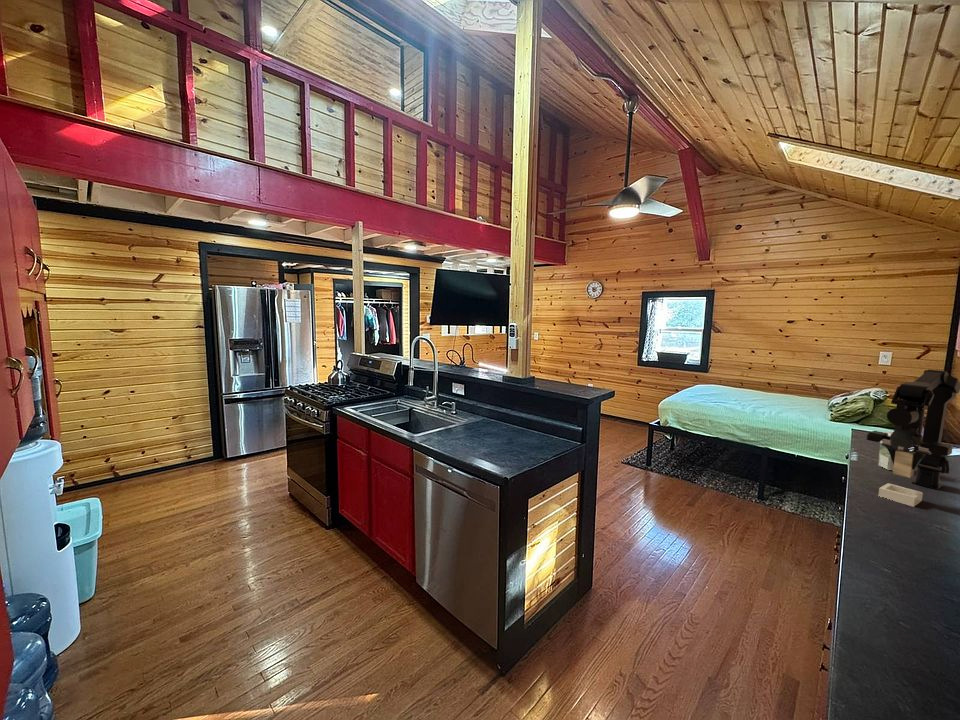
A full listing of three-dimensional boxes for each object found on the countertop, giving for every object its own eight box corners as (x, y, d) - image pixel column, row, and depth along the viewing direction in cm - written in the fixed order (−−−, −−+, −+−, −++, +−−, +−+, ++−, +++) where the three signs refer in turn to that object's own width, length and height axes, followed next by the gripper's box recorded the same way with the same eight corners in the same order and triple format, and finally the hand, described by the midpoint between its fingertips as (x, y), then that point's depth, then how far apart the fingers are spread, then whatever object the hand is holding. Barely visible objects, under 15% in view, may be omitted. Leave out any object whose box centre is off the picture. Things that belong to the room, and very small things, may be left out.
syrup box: (905, 472, 157) (910, 436, 155) (887, 470, 158) (892, 435, 156) (893, 466, 162) (898, 432, 161) (876, 465, 163) (881, 431, 162)
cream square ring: (886, 491, 139) (888, 483, 139) (921, 501, 132) (922, 492, 131) (878, 496, 135) (879, 488, 135) (913, 506, 128) (914, 497, 127)
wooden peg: (896, 471, 135) (900, 445, 134) (913, 475, 132) (917, 449, 131) (892, 473, 133) (896, 447, 132) (909, 477, 130) (913, 451, 129)
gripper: (863, 418, 134) (857, 462, 136) (945, 432, 118) (938, 482, 120) (875, 414, 140) (869, 457, 142) (955, 427, 124) (948, 475, 126)
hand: (904, 467), depth 132 cm, fingers closed on wooden peg, 4 cm apart
